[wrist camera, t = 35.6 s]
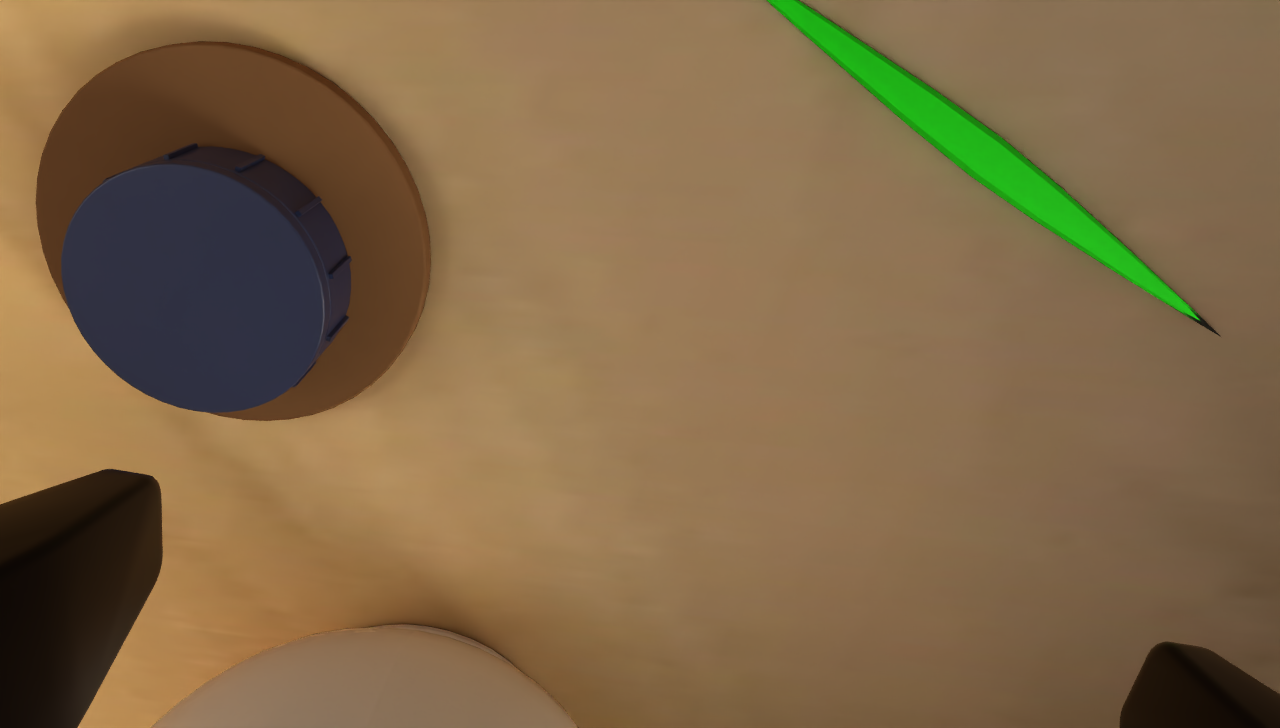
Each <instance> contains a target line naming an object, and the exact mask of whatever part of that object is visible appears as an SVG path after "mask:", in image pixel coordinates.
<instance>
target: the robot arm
mask: <svg viewBox="0 0 1280 728" xmlns="http://www.w3.org/2000/svg"><path fill="white" fill-rule="evenodd" d="M162 556H163V547H162V504H161V489H160V486H159V483H158V482H157V480H156V479H155V478H154V477H153V476H150V475H145V474H139V473H133V472H127V471H121V470H115V469H105V470H101V471H98V472H95V473H92V474H89V475H86V476H83V477H80V478H77V479H74V480H71V481H68V482H65V483H62V484H59V485H57V486H54V487H51V488H48V489H45V490H42V491H39V492H36V493H33V494H30V495H27V496H24V497H21V498H18V499H15V500H12V501H9V502H6V503H3V504H0V728H77V727H78V726H79V724H80V722H81V720H82V719H83V717H84V715H85V713H86V712H87V710H88V708H89V706H90V704H91V703H92V701H93V699H94V697H95V695H96V693H97V691H98V689H99V688H100V686H101V684H102V682H103V680H104V678H105V676H106V675H107V673H108V671H109V669H110V667H111V665H112V663H113V662H114V660H115V658H116V656H117V654H118V652H119V650H120V649H121V647H122V645H123V643H124V641H125V639H126V637H127V635H128V634H129V632H130V630H131V628H132V626H133V624H134V622H135V621H136V619H137V617H138V615H139V613H140V611H141V609H142V608H143V606H144V604H145V602H146V600H147V598H148V596H149V595H150V593H151V591H152V589H153V587H154V585H155V583H156V581H157V578H158V576H159V573H160V569H161V565H162ZM1120 728H1280V694H1278V693H1277V692H1275V691H1273V690H1272V689H1270V688H1269V687H1267V686H1266V685H1264V684H1263V683H1261V682H1259V681H1258V680H1256V679H1255V678H1253V677H1252V676H1250V675H1249V674H1247V673H1245V672H1244V671H1242V670H1241V669H1239V668H1238V667H1236V666H1235V665H1233V664H1231V663H1230V662H1228V661H1227V660H1225V659H1224V658H1222V657H1220V656H1219V655H1217V654H1216V653H1214V652H1213V651H1211V650H1209V649H1206V648H1203V647H1199V646H1193V645H1186V644H1180V643H1174V642H1162V643H1159V644H1157V645H1155V646H1154V647H1153V648H1152V649H1151V650H1150V652H1149V654H1148V655H1147V657H1146V660H1145V662H1144V664H1143V666H1142V668H1141V670H1140V672H1139V674H1138V676H1137V678H1136V680H1135V682H1134V685H1133V687H1132V689H1131V691H1130V693H1129V695H1128V697H1127V699H1126V701H1125V703H1124V705H1123V708H1122V711H1121V716H1120Z"/></svg>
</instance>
